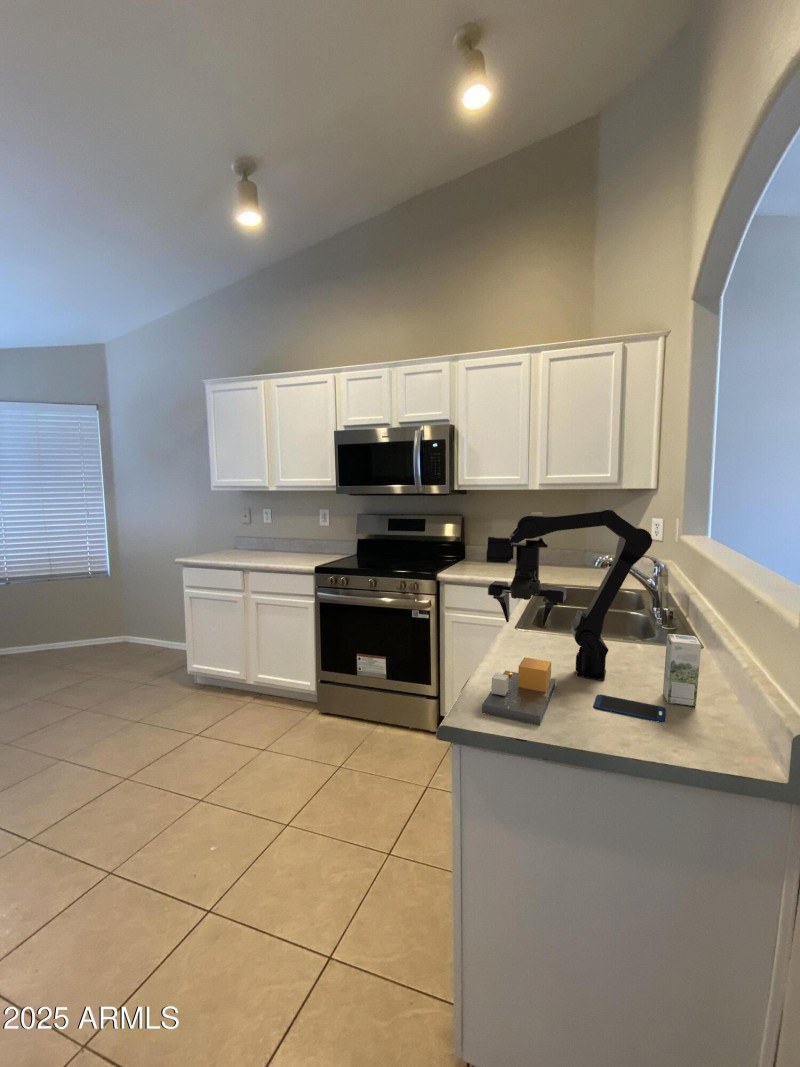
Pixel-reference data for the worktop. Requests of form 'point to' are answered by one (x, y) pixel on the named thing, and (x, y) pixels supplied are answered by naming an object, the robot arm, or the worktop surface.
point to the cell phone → (630, 708)
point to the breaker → (500, 684)
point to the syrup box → (681, 669)
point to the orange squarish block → (534, 674)
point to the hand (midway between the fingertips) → (525, 624)
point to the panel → (519, 702)
